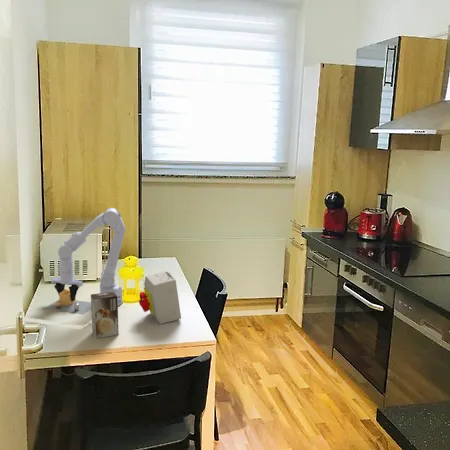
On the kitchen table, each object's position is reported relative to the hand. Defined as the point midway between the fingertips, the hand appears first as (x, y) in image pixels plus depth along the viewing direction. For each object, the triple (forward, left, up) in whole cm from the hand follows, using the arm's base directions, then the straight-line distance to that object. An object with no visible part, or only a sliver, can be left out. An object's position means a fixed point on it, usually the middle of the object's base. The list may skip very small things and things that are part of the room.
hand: (67, 299), depth 223 cm
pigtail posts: (-5, +7, -1) cm, 8 cm away
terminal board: (-4, +3, -3) cm, 6 cm away
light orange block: (0, 0, -1) cm, 1 cm away
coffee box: (-31, +22, -3) cm, 38 cm away
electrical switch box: (-44, 0, -3) cm, 44 cm away
